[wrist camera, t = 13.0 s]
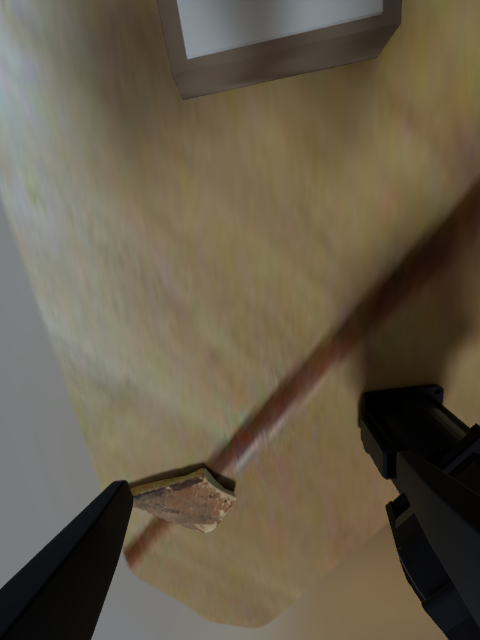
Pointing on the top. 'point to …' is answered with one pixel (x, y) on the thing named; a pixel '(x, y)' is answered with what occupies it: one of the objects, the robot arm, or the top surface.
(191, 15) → the plate
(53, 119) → the top surface
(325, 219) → the top surface
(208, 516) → the shard
